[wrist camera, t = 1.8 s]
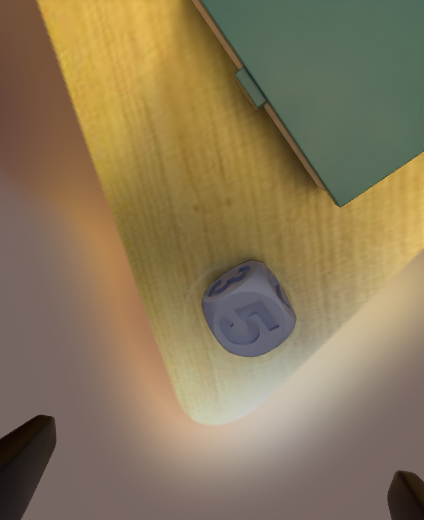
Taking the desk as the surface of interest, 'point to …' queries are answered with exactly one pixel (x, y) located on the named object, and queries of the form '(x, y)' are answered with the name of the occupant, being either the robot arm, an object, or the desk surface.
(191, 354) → the desk surface
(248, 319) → the decorative dice
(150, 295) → the desk surface
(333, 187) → the box
